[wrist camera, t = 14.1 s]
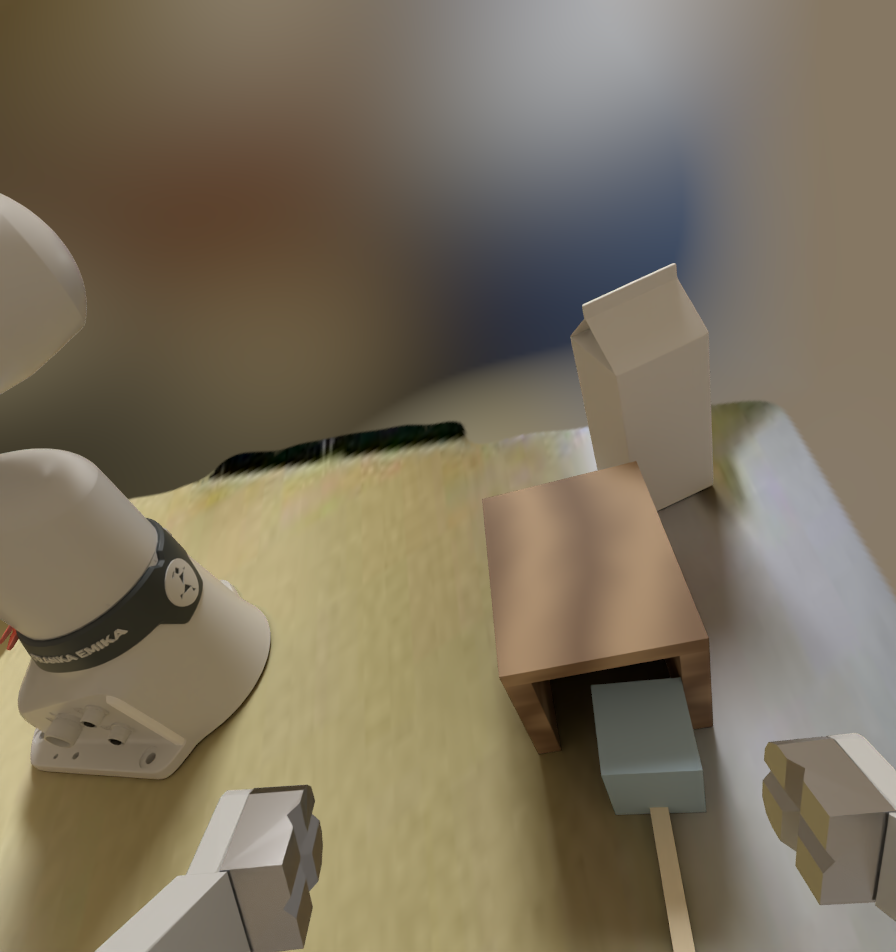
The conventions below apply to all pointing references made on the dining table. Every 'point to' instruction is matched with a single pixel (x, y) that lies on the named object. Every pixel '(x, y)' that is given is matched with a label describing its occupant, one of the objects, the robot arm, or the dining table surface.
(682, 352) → the milk carton
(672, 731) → the cream rounded block
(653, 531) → the walnut cubby
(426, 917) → the dining table surface
